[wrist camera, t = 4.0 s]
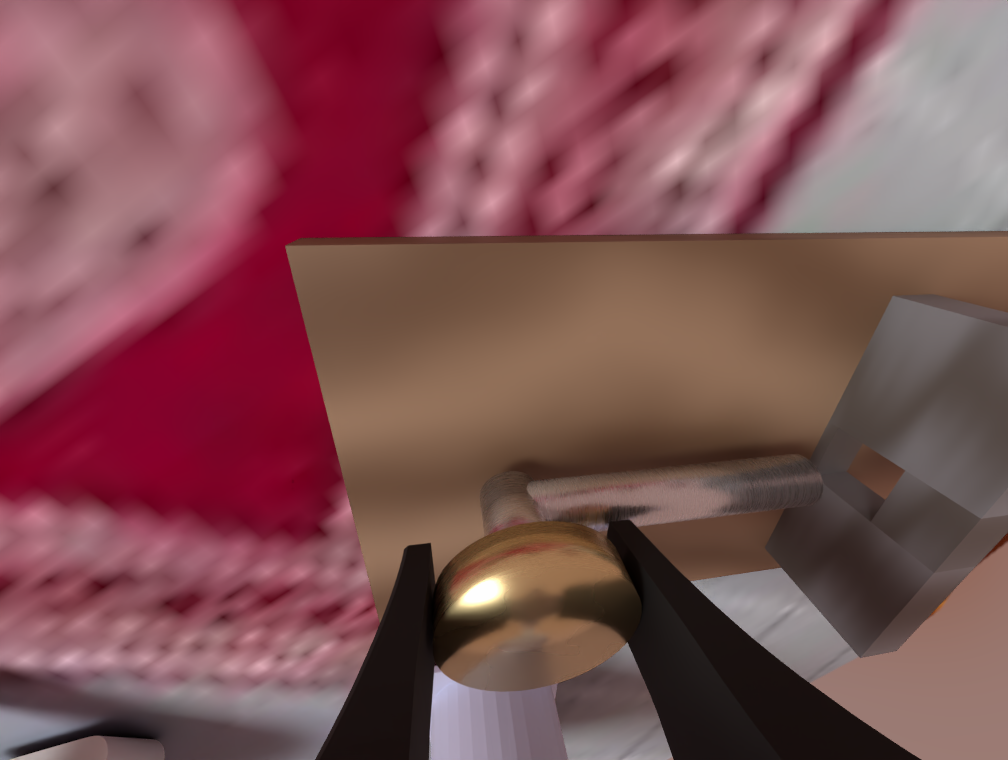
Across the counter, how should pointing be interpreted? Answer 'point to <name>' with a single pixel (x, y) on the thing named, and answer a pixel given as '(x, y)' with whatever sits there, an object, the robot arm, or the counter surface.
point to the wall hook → (101, 750)
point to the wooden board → (680, 394)
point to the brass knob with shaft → (578, 563)
